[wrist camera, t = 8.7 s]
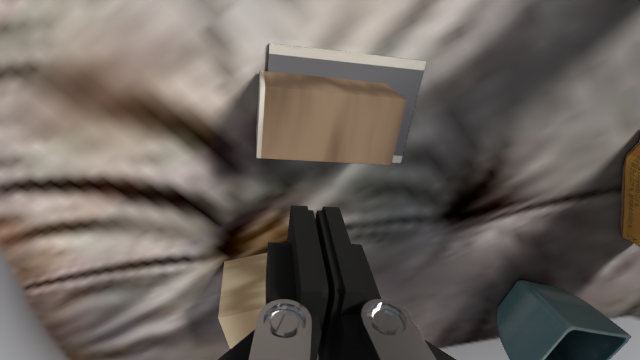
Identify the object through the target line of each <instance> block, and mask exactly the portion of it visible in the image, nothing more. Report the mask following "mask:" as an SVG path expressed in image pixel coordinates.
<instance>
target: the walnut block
mask: <svg viewBox="0 0 640 360" xmlns="http://www.w3.org/2000/svg"><path fill="white" fill-rule="evenodd" d="M406 101H407V99H405V98H404V97H403V96H401V95H400V94H398V93H397V92H396V91H394V90H393V89H392V88H390V87H389V86H388V85H386V84H385V83H379V82H369V81H359V80H349V79H339V78H329V77H319V76H309V75H299V74H289V73H279V72H269V71H259V90H258V109H257V128H256V152H257V158H265V159H284V160H303V161H322V162H342V163H361V164H380V165H391V164H392V160H393V156H394V152H395V147H396V143H397V139H398V135H399V131H400V127H401V122H402V118H403V114H404V110H405V106H406Z"/></svg>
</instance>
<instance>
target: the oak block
mask: <svg viewBox="0 0 640 360" xmlns="http://www.w3.org/2000/svg"><path fill="white" fill-rule="evenodd" d="M266 263H267V253H264V254H259V255H255V256H250V257H245V258H240V259H235V260H230V261H225V262H224V269H223V278H222V287H221V296H220V305H219V315H218V319H219V322H220V324H221V327H222V330H223V332H224V335H225V337H226V340H227V342H228V345H229V348H230V349H231V348H233V347H234V346H235V345H236V344H238V343H239V342H240V341H241V340H242V339H244V338H245V337H246V336H247V335H249V334H250V333H251V332H252V331H253V330H255V327H256V323H257V318H258V315H259V313H260V310H261V309H262V308H263V307H264V306H265V305H266Z"/></svg>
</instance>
